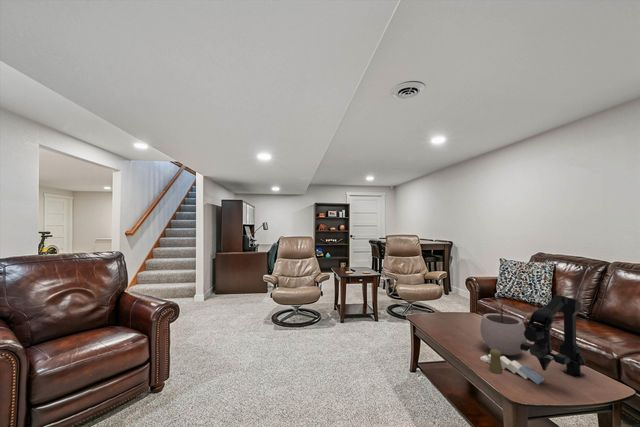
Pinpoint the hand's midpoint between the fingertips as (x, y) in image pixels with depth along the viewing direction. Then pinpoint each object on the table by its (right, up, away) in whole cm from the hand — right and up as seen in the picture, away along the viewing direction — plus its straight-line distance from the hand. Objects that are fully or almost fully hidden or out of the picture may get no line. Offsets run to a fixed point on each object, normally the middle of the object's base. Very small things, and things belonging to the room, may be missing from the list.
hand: (544, 370), depth 135 cm
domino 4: (-4, -6, +5) cm, 9 cm away
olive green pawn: (-16, -8, +12) cm, 22 cm away
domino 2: (-9, -7, +15) cm, 19 cm away
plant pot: (+2, -9, +34) cm, 35 cm away
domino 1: (-10, -8, +19) cm, 23 cm away
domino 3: (-6, -7, +10) cm, 14 cm away
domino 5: (-1, -6, +1) cm, 6 cm away
